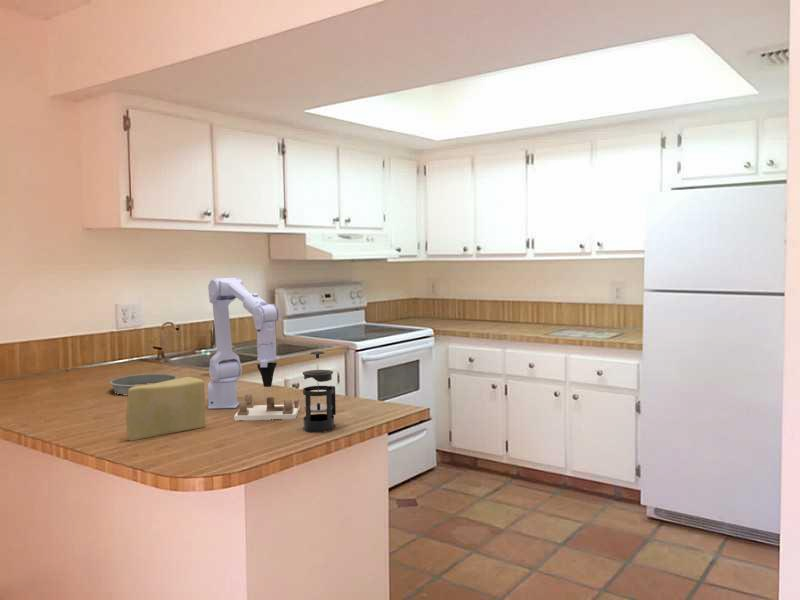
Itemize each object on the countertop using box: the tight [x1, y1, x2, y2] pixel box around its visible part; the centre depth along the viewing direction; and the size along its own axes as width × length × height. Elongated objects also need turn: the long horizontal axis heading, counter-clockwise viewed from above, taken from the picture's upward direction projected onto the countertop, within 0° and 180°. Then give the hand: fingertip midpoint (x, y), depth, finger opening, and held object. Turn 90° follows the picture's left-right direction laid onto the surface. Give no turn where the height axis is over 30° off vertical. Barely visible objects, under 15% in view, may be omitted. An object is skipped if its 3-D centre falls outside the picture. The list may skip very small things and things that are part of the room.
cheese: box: [125, 376, 206, 442], centre depth 193 cm, size 22×10×15 cm, turn 139°
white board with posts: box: [233, 393, 301, 422], centre depth 213 cm, size 19×14×6 cm
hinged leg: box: [266, 396, 294, 411], centre depth 212 cm, size 8×2×4 cm, turn 93°
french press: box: [302, 350, 337, 433], centre depth 195 cm, size 12×9×23 cm
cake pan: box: [109, 373, 179, 395], centre depth 256 cm, size 25×25×4 cm
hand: (267, 386), depth 207 cm, fingers closed
